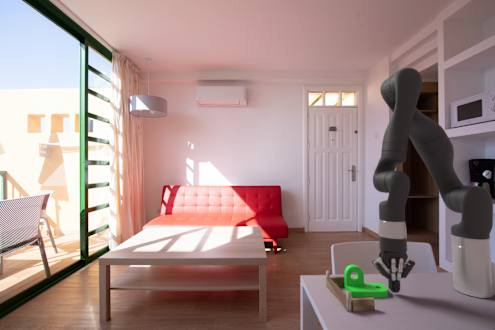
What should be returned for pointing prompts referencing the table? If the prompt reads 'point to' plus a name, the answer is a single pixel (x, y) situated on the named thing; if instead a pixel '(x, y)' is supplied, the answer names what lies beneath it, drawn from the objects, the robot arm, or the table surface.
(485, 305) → the table surface
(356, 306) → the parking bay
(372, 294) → the mechanical part
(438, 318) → the table surface
